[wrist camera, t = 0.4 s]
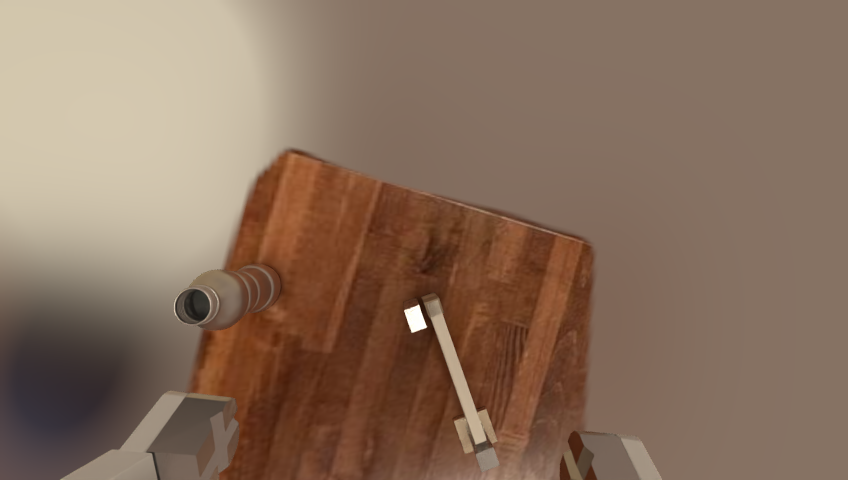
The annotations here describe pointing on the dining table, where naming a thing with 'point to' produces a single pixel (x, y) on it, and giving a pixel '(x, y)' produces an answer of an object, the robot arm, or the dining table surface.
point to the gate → (454, 365)
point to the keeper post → (414, 315)
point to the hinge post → (483, 449)
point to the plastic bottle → (227, 296)
